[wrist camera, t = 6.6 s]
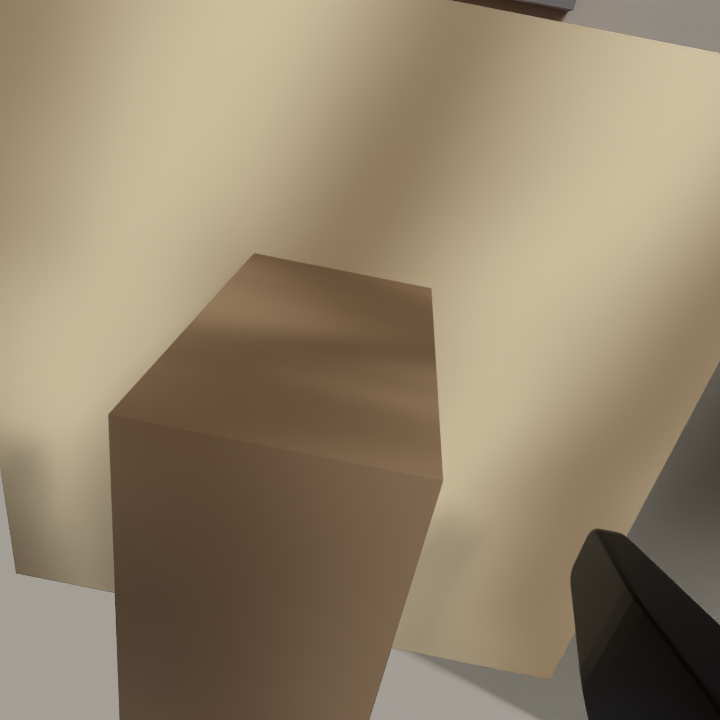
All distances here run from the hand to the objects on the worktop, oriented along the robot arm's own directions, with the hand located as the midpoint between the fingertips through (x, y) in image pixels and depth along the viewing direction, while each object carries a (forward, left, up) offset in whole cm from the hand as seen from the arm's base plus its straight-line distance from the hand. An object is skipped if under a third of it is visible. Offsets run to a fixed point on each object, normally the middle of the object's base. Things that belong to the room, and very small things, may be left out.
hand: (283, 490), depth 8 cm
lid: (0, 0, -4) cm, 4 cm away
